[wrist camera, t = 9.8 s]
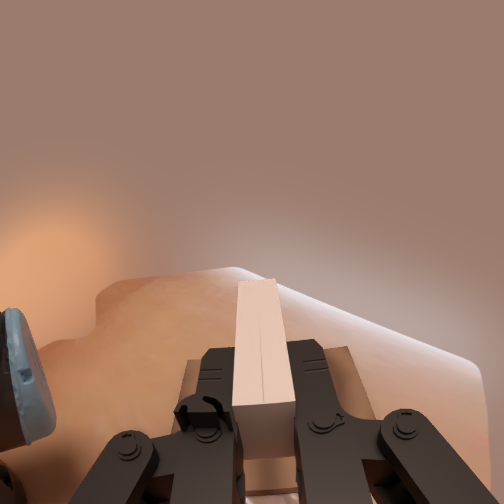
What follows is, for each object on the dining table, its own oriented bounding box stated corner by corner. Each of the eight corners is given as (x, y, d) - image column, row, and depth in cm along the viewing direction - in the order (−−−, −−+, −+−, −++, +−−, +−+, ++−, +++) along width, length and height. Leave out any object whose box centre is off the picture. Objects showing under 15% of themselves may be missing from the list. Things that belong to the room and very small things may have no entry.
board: (164, 492, 25) (160, 487, 24) (189, 367, 45) (187, 359, 45) (390, 474, 24) (393, 468, 24) (346, 353, 45) (347, 346, 44)
